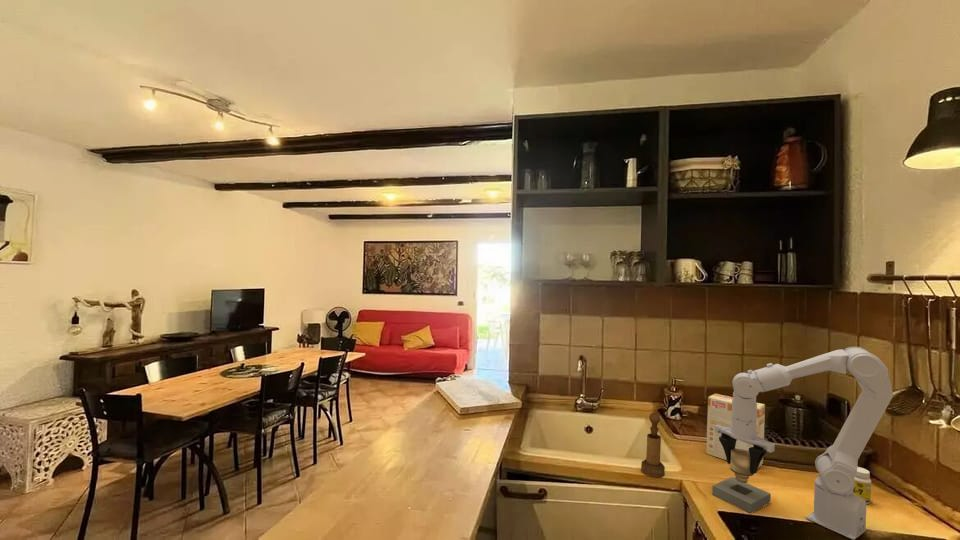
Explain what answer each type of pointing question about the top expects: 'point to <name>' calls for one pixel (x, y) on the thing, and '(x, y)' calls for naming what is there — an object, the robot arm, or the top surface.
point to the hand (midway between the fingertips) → (741, 467)
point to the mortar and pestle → (653, 451)
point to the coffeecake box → (727, 424)
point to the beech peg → (740, 464)
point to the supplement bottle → (862, 484)
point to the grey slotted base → (741, 494)
